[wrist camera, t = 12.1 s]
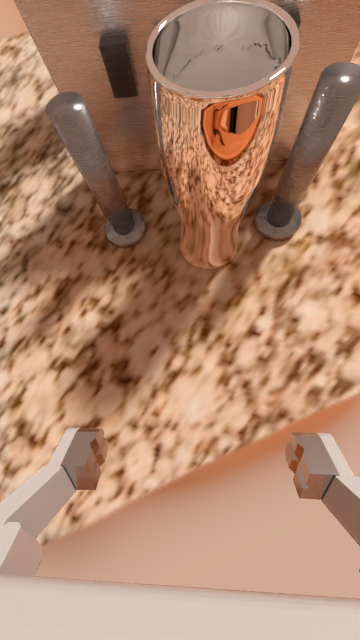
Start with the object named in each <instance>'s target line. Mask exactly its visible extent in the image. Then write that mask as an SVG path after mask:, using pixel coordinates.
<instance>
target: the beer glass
mask: <svg viewBox="0 0 360 640" xmlns="http://www.w3.org/2000/svg"><path fill="white" fill-rule="evenodd" d="M299 45H300V34H299V30H298V27H297V24H296V22H295V21H294V19H293V18H292V17H291V16H290V14H289V13H288V12H286V11H285V10H284V9H283V8H281V7H280V6H278V5H276V4H275V3H273V2H270V1H268V0H195V1H193V2H190V3H188V4H185V5H183V6H181V7H179V8H177V9H176V10H174V11H172V12H171V13H170V14H168V15H167V16H166V17H164V18H163V19H162V20H161V21H160V22H159V23H158V24H157V25H156V27H155V28H154V29H153V31H152V32H151V34H150V36H149V38H148V41H147V44H146V49H145V59H146V64H147V69H148V77H149V86H150V97H151V107H152V115H153V124H154V131H155V138H156V144H157V151H158V155H159V160H160V165H161V169H162V173H163V176H164V179H165V183H166V186H167V189H168V192H169V194H170V197H171V199H172V202H173V204H174V207H175V209H176V212H177V214H178V217H179V220H180V223H181V235H180V250H181V253H182V255H183V257H184V258H185V259H186V260H187V261H188V262H189V263H190V264H191V265H193V266H195V267H198V268H201V269H215V268H219V267H221V266H224V265H225V264H227V263H228V262H229V261H230V260H231V259H232V258H233V257H234V255H235V254H236V252H237V249H238V243H239V238H238V228H239V225H240V222H241V220H242V218H243V216H244V214H245V212H246V210H247V208H248V207H249V205H250V203H251V201H252V199H253V197H254V195H255V193H256V191H257V189H258V187H259V185H260V183H261V180H262V178H263V176H264V174H265V172H266V169H267V166H268V163H269V160H270V157H271V154H272V151H273V148H274V145H275V141H276V138H277V134H278V131H279V127H280V123H281V119H282V115H283V111H284V106H285V102H286V98H287V93H288V89H289V84H290V80H291V75H292V71H293V67H294V63H295V59H296V56H297V53H298V50H299Z"/></svg>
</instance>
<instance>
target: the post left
mask: <svg viewBox="0 0 360 640" xmlns="http://www.w3.org/2000/svg"><path fill="white" fill-rule="evenodd" d="M46 113H47V115H48V117H49V119H50V120H51V122H52V124H53V126H54V127H55V129H56V131H57V132H58V134H59V136H60V138H61V139H62V141H63V143H64V145H65V146H66V148H67V150H68V152H69V153H70V155H71V157H72V158H73V160H74V162H75V164H76V165H77V167H78V169H79V171H80V172H81V174H82V176H83V178H84V179H85V181H86V183H87V185H88V186H89V188H90V190H91V191H92V193H93V195H94V197H95V198H96V200H97V202H98V204H99V205H100V207H101V209H102V211H103V212H104V214H105V216H106V217H107V220H106V222H105V226H104V231H105V234H106V236H107V238H108V239H109V241H110V242H111V243H112V244H113V245H115V246H116V247H120V248H129V247H132V246H135V245H136V244H138V243H139V242H140V241H141V240H142V239H143V237H144V236H145V233H146V224H145V222H144V219H143V217H142V215H141V214H140V213H139V212H138V211H136V210H134V209H129V207H128V205H127V202H126V200H125V197H124V195H123V193H122V190H121V188H120V185H119V183H118V181H117V178H116V176H115V173H114V171H113V169H112V166H111V164H110V161H109V159H108V157H107V154H106V152H105V149H104V147H103V145H102V142H101V140H100V137H99V135H98V133H97V130H96V128H95V125H94V123H93V121H92V118H91V116H90V113H89V111H88V109H87V106H86V104H85V101H84V99H83V97H82V96H81V95H80V94H78V93H76V92H64V93H61V94H59V95H57V96H55V97H54V98H52V99H51V100H50V102H49V103H48V105H47V107H46Z"/></svg>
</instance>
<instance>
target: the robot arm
mask: <svg viewBox="0 0 360 640" xmlns="http://www.w3.org/2000/svg"><path fill="white" fill-rule="evenodd" d="M103 436H104V431H103V429H96V428H68V429H67V430H66V431H65V432H64V434H63V436H62V438H61V440H60V442H59V444H58V446H57V447H56V449H55V451H54V453H53V455H52V457H51V459H50V461H49V463H48V465H47V466H43V467H42V468H40V469H39V470H38V471H37V472H36V473H34V474H33V475H32V476H31V477H30V478H29V479H27V480H26V481H25V482H24V483H23V484H22V485H20V486H19V487H18V488H17V489H16V490H15V491H13V492H12V493H11V494H10V495H9V496H8V497H6V498H5V499H4V500H3V501H2V502H1V503H0V640H360V599H355V598H342V597H326V596H312V595H298V594H282V593H269V592H254V591H239V590H225V589H209V588H195V587H180V586H166V585H151V584H137V583H122V582H108V581H92V580H78V579H64V578H49V577H34V576H35V574H36V571H37V568H38V566H39V564H40V561H41V558H42V556H43V553H44V550H43V547H42V546H41V545H40V544H39V543H38V542H37V541H36V540H35V539H36V538H37V537H38V535H39V534H40V533H41V532H42V531H43V530H44V528H45V527H46V526H47V525H48V524H49V522H50V521H51V520H52V519H53V518H54V517H55V515H56V514H57V513H58V512H59V511H60V509H61V508H62V507H63V506H64V505H65V503H66V502H67V501H68V500H69V499H70V498H71V496H72V495H73V494H74V493H75V492H76V490H96V487H97V484H98V481H99V478H100V475H101V471H100V466H101V465H102V464H103V463H104V462H105V459H106V456H107V450H108V443H107V439H105V438H104V437H103ZM289 440H290V442H289V443H287V445H286V448H285V450H286V459H287V463H288V466H289V468H290V469H291V470H292V471H293V472H294V473H295V475H294V478H293V481H294V484H295V487H296V490H297V493H298V496H299V498H304V499H319V500H322V502H323V503H324V504H325V506H326V507H327V508H328V509H329V510H330V512H331V513H332V514H333V515H334V516H335V517H336V519H337V520H338V521H339V522H340V523H341V525H342V526H343V527H344V528H345V529H346V530H347V532H349V534H350V535H351V536H352V538H353V539H354V540H355V541H356V542H357V544H358V545H359V546H360V477H358V476H354V475H353V473H352V471H351V469H350V467H349V465H348V464H347V462H346V460H345V458H344V456H343V455H342V453H341V451H340V449H339V448H338V446H337V444H336V442H335V440H334V438H333V437H332V436H331V435H330V434H329V433H291V434H290V435H289ZM359 572H360V570H359Z"/></svg>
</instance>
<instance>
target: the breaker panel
mask: <svg viewBox="0 0 360 640" xmlns="http://www.w3.org/2000/svg"><path fill="white" fill-rule="evenodd" d="M193 1H195V0H14V2H15V4H16V6H17V8H18V10H19V12H20V14H21V16H22V18H23V20H24V22H25V24H26V26H27V29H28V31H29V33H30V35H31V37H32V39H33V41H34V43H35V45H36V47H37V49H38V51H39V53H40V55H41V57H42V59H43V61H44V63H45V65H46V67H47V69H48V71H49V73H50V75H51V77H52V79H53V81H54V83H55V85H56V87H57V89H58V92H59V94H61V93H64V92H76V93H78V94H80V95H81V96H82V97H83V99H84V101H85V104H86V106H87V109H88V111H89V113H90V116H91V118H92V121H93V123H94V125H95V128H96V130H97V133H98V135H99V137H100V140H101V142H102V145H103V147H104V149H105V152H106V154H107V157H108V159H109V161H110V164H111V166H112V169H113V171H114V172H126V171H139V170H152V169H161V165H160V160H159V155H158V151H157V144H156V138H155V131H154V124H153V115H152V107H151V97H150V86H149V77H148V69H147V64H146V59H145V49H146V44H147V41H148V38H149V36H150V34H151V32H152V31H153V29H154V28H155V27H156V25H157V24H158V23H159V22H160V21H161V20H162V19H163V18H164V17H166V16H167V15H168V14H170V13H171V12H172V11H174V10H176V9H177V8H179V7H181V6H183V5H185V4H188V3H190V2H193ZM268 1H270V2H273V3H275V4H276V5H278V6H280V7H281V8H283V9H284V10H285V11H286V12H288V13H289V14H290V16H291V17H292V18H293V19H294V21H295V22H296V24H297V27H298V30H299V34H300V45H299V50H298V53H297V56H296V59H295V63H294V67H293V71H292V75H291V80H290V84H289V89H288V93H287V98H286V102H285V106H284V111H283V115H282V119H281V123H280V127H279V131H278V134H277V138H276V141H275V145H274V148H273V151H272V154H271V157H270V160H269V161H272V160H285V159H288V158H289V155H290V153H291V150H292V148H293V145H294V142H295V140H296V137H297V135H298V132H299V130H300V127H301V124H302V122H303V119H304V117H305V114H306V111H307V109H308V106H309V104H310V101H311V98H312V96H313V93H314V91H315V88H316V85H317V83H318V80H319V78H320V75H321V73H322V71H323V70H324V69H325V68H326V67H327V66H329V65H331V64H334V63H338V62H350V61H351V59H352V57H353V54H354V52H355V50H356V48H357V46H358V44H359V41H360V0H268Z"/></svg>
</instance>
